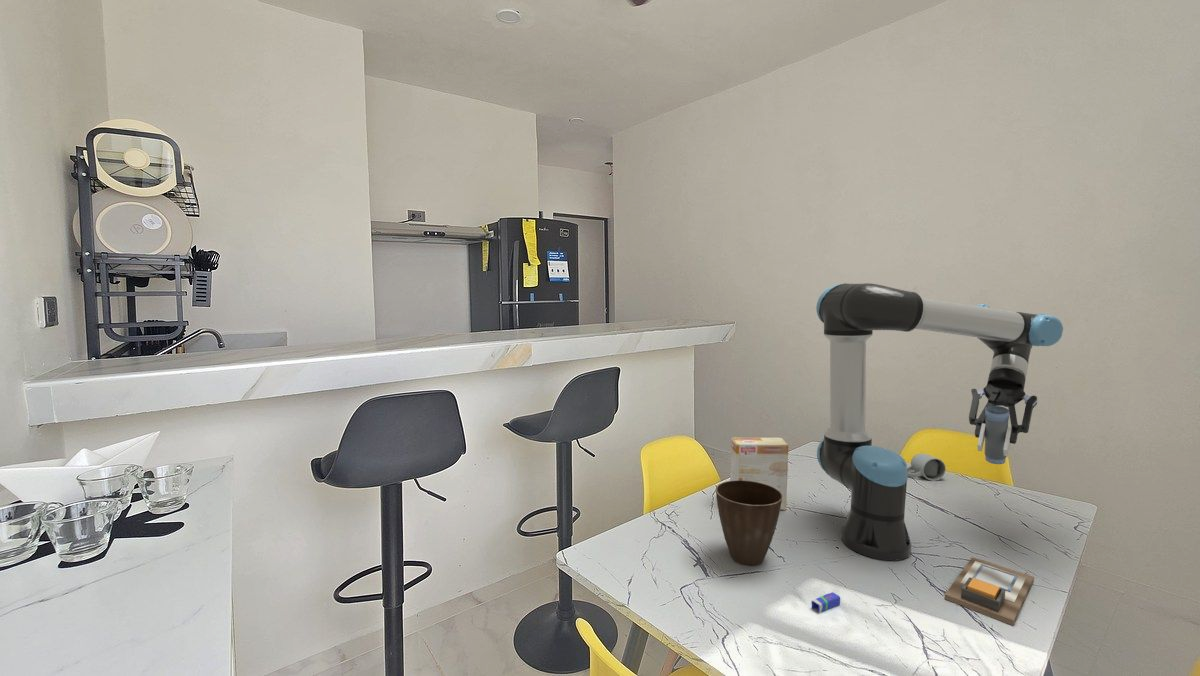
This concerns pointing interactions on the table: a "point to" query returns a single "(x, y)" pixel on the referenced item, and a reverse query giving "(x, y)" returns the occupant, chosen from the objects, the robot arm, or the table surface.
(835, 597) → the eraser
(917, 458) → the ceramic mug
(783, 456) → the coffeecake box
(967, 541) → the table surface
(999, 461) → the cup
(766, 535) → the plant pot
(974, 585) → the button
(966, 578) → the wooden board
